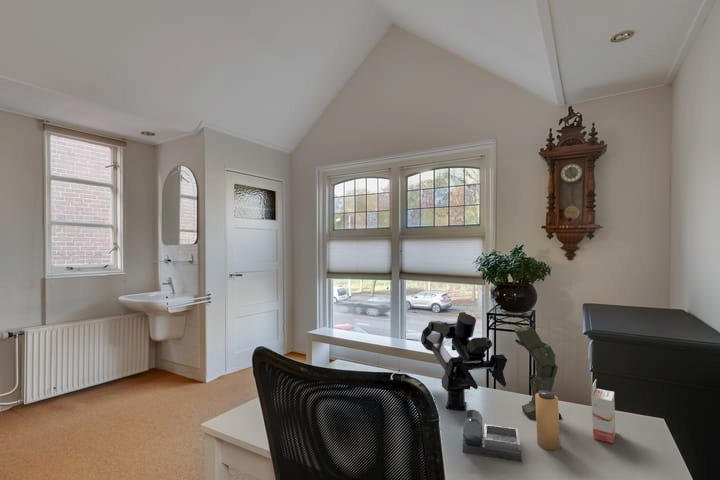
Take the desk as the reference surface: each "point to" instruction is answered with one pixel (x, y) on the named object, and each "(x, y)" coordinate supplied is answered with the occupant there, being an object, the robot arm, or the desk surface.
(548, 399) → the bottle
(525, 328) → the mechanical leg
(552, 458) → the desk surface
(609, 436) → the ink cartridge box
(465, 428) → the motor mount
